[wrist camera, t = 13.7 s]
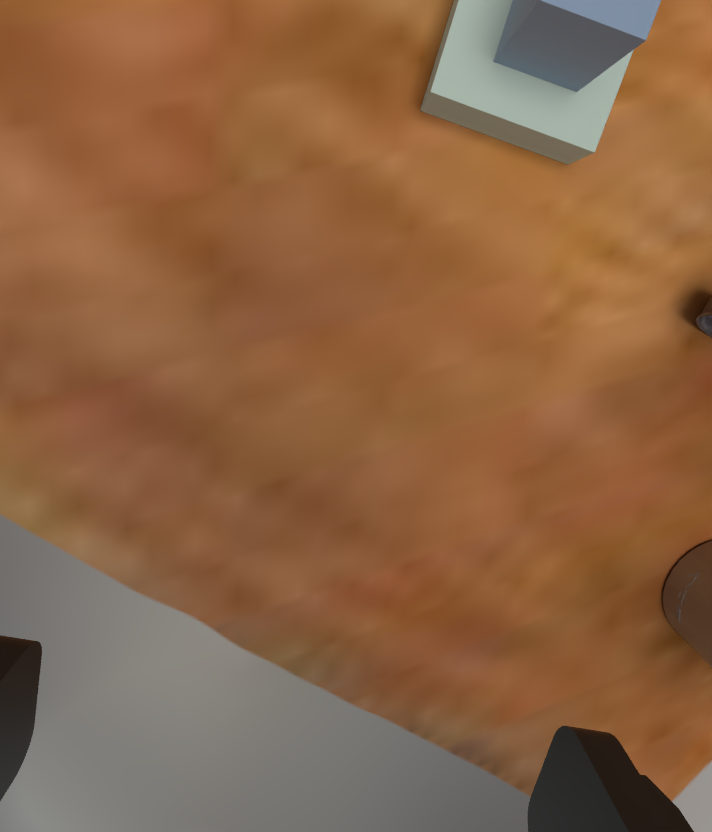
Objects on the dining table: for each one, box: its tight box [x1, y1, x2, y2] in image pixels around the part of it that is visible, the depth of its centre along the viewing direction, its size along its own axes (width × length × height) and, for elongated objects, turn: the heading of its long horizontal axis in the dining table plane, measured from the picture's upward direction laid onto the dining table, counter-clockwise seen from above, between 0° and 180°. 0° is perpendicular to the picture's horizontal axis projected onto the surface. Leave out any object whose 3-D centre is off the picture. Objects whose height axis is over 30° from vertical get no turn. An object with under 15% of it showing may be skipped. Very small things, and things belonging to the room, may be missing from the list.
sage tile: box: [420, 0, 633, 165], centre depth 32 cm, size 10×10×4 cm
